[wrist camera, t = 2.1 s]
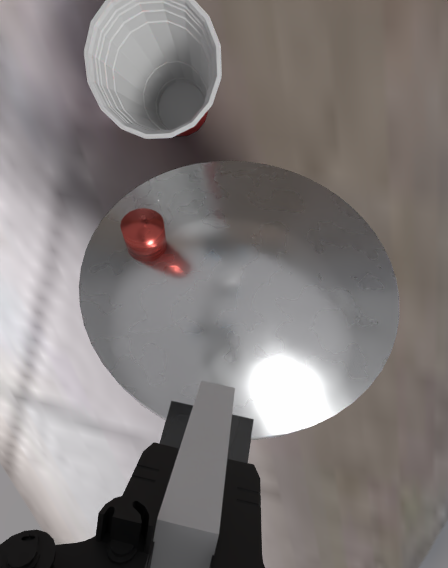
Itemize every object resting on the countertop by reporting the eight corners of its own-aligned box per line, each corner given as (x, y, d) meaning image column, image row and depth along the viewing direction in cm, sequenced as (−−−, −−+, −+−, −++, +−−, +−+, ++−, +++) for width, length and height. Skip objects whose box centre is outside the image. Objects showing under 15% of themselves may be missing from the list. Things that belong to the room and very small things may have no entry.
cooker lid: (145, 157, 26) (138, 116, 23) (379, 202, 25) (403, 165, 22) (-20, 484, 14) (-77, 486, 12) (405, 588, 14) (463, 620, 11)
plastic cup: (200, 179, 38) (176, 164, 26) (121, 127, 37) (61, 89, 26) (251, 91, 35) (249, 31, 24) (167, 34, 35) (123, -54, 23)
